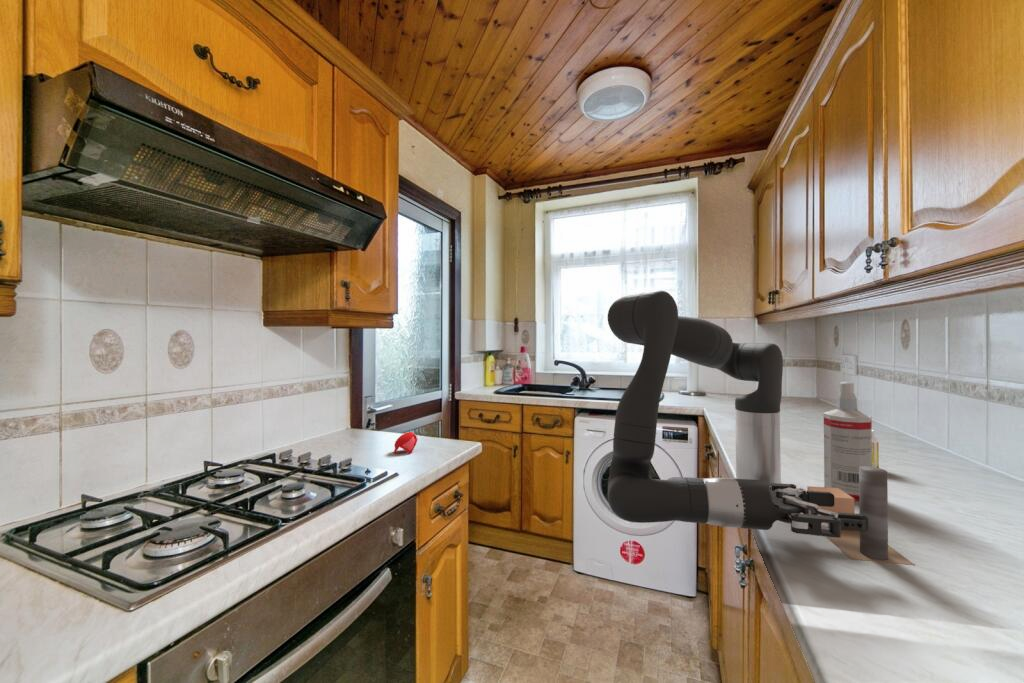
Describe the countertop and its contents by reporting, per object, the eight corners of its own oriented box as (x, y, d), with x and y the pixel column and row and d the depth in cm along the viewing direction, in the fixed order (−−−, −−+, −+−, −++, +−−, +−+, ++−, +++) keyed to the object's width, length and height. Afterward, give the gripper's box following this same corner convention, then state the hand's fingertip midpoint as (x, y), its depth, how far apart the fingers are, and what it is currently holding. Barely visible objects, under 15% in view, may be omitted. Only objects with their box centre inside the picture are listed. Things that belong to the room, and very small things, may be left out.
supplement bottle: (863, 464, 107) (863, 426, 107) (884, 471, 102) (884, 431, 102) (844, 465, 107) (844, 427, 107) (865, 472, 101) (864, 432, 101)
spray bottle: (881, 510, 80) (880, 384, 79) (838, 507, 81) (837, 384, 81) (856, 494, 87) (855, 380, 87) (817, 492, 89) (816, 380, 89)
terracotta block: (807, 512, 76) (807, 486, 76) (838, 514, 75) (838, 488, 75) (821, 524, 71) (821, 496, 71) (854, 527, 70) (854, 498, 70)
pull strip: (785, 506, 81) (785, 436, 81) (831, 509, 80) (830, 438, 80) (851, 566, 60) (850, 472, 60) (915, 573, 58) (914, 475, 58)
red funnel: (416, 437, 132) (400, 429, 131) (421, 434, 127) (404, 426, 126) (405, 460, 128) (388, 452, 127) (410, 458, 123) (392, 450, 122)
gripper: (749, 496, 58) (880, 505, 55) (720, 465, 72) (823, 471, 69) (749, 547, 58) (880, 559, 55) (721, 507, 72) (823, 514, 69)
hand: (848, 510), depth 62 cm, fingers open, 8 cm apart
